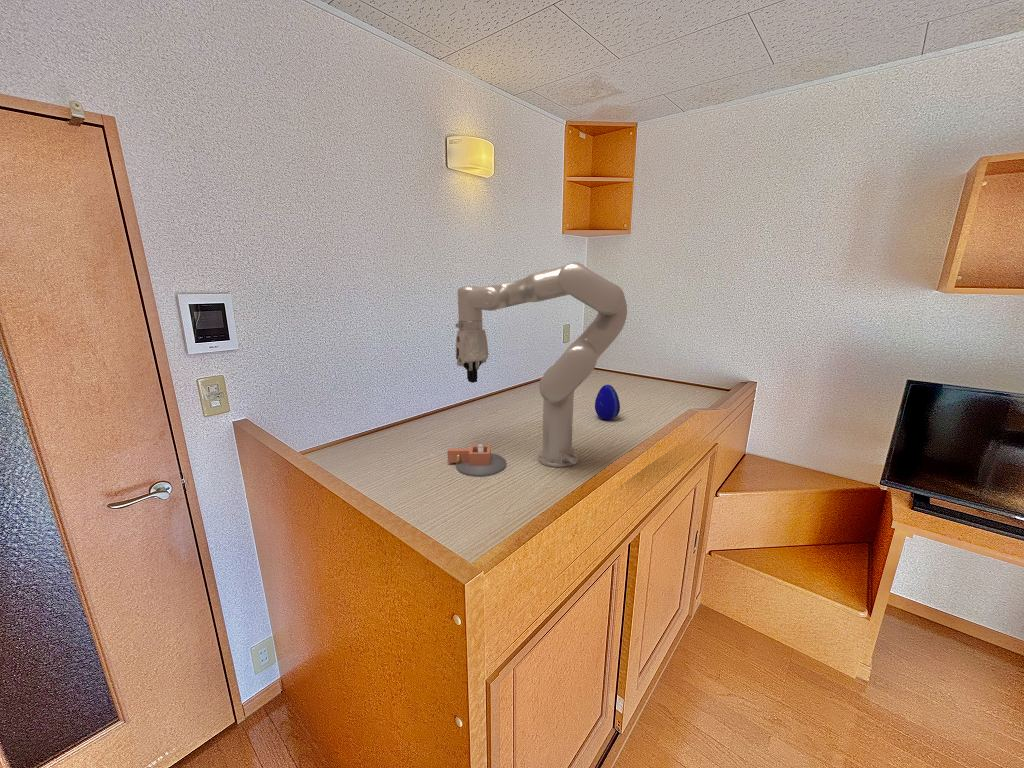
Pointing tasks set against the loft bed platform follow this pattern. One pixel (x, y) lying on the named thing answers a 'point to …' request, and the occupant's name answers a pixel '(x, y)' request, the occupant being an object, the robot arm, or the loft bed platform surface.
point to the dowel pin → (458, 458)
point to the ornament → (607, 403)
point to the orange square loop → (471, 455)
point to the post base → (483, 466)
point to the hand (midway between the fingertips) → (472, 381)
